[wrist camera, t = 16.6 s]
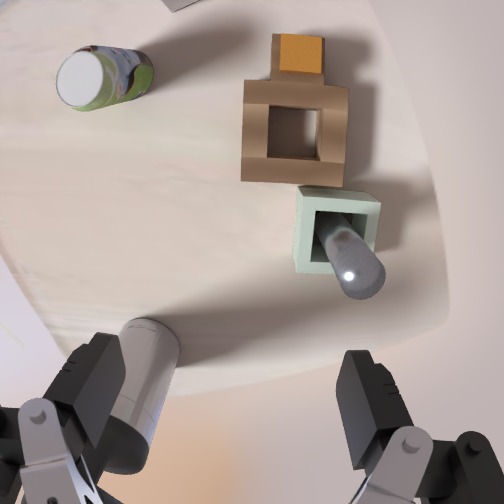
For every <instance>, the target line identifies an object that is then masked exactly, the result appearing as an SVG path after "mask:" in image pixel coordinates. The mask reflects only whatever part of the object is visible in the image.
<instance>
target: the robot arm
mask: <svg viewBox="0 0 504 504" xmlns="http://www.w3.org/2000/svg"><path fill="white" fill-rule="evenodd" d="M179 355H180V345H179V342H178V340H177V338H176V337H175V335H174V334H173V333H172V332H171V331H170V330H169V329H168V328H167V327H165V326H164V325H162V324H160V323H159V322H156V321H153V320H150V319H134V320H132V321H129V322H128V323H127V324H125V326H124V327H123V329H122V330H121V332H120V333H119V335H118V336H117V335H113V334H107V333H100V332H97V333H96V334H95V335H94V337H93V338H92V339H91V341H90V342H89V344H83V345H81V346H80V347H78V348H77V349H76V350H74V351H73V352H72V354H71V355H70V357H69V358H68V360H67V362H66V363H65V364H64V366H63V367H62V370H60V371H59V373H58V374H57V376H56V377H55V379H54V381H53V382H52V383H51V385H50V387H49V388H48V390H47V391H46V393H45V394H44V396H43V397H42V398H35V399H31V400H29V401H27V402H26V403H24V404H23V405H22V406H21V408H5V407H1V405H0V504H15V502H16V499H17V496H18V493H19V491H20V488H21V486H22V485H23V489H24V495H23V498H22V501H21V504H123V503H121V502H120V501H118V500H117V499H115V498H114V497H113V496H111V495H109V494H108V493H107V492H105V491H104V490H102V489H101V488H99V487H98V486H97V483H98V481H99V479H100V477H101V475H102V473H103V471H106V472H110V473H115V474H122V475H129V474H130V475H131V474H135V473H138V472H140V471H141V470H142V469H143V467H144V465H145V463H146V460H147V456H148V453H149V449H150V446H151V442H152V439H153V436H154V433H155V429H156V426H157V422H158V419H159V416H160V413H161V410H162V407H163V404H164V401H165V397H166V394H167V391H168V388H169V385H170V382H171V379H172V376H173V373H174V370H175V367H176V364H177V361H178V358H179ZM336 397H337V401H338V406H339V409H340V414H341V418H342V422H343V426H344V430H345V435H346V439H347V443H348V448H349V452H350V456H351V461H352V465H353V469H354V470H359V469H365V473H366V477H365V478H364V480H363V481H362V483H361V484H360V486H359V488H358V489H357V491H356V493H355V494H354V496H353V497H352V499H351V500H350V502H349V503H348V504H416V503H415V502H413V499H414V497H417V498H420V499H421V503H422V504H504V474H503V472H502V469H501V467H500V465H499V462H498V460H497V458H496V456H495V453H494V451H493V449H492V447H491V445H490V442H489V441H488V439H487V438H486V437H485V436H484V435H482V434H481V433H478V432H475V431H468V432H464V433H463V434H461V435H460V436H459V437H458V439H457V440H456V441H440V440H432V438H431V437H430V435H429V434H428V433H427V432H426V431H424V430H423V429H421V428H418V427H415V426H414V424H413V422H412V420H411V417H410V415H409V413H408V410H407V408H406V406H405V403H404V401H403V399H402V397H401V395H400V394H399V390H398V388H397V386H396V385H395V381H394V379H393V377H392V375H391V373H390V372H389V371H388V370H387V369H386V368H385V367H384V366H383V365H382V364H381V363H379V364H374V361H373V359H372V357H371V354H370V352H369V351H368V350H348V351H346V353H345V355H344V359H343V362H342V366H341V369H340V373H339V376H338V379H337V383H336Z"/></svg>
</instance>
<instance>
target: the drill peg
mask: <svg viewBox="0 0 504 504" xmlns="http://www.w3.org/2000/svg"><path fill="white" fill-rule="evenodd" d="M314 229H315V231H316V234H317V236H318V238H319V240H320V242H321V244H322V246H323V248H324V250H325V252H326V255H327V257H328V259H329V261H330V263H331V265H332V267H333V270H334V272H335V274H336V276H337V278H338V281H339V283H340V285H341V287H342V289H343V291H344V293H345V294H346V295H347V296H349V297H351V298H353V299H358V300H361V299H366V298H369V297H371V296H373V295H375V294H376V293H377V292H378V291H379V290H380V289H381V287H382V286H383V284H384V281H385V269H384V266H383V265H382V263H381V262H380V261H379V259H378V258H377V257H376V256H375V254H374V253H373V252H372V251H371V249H370V248H369V247H368V246H367V244H366V243H365V242H364V241H363V240H362V238H361V237H360V236H359V235H358V233H357V232H356V231H355V230H354V229H353V227H352V226H351V225H350V224H349V223H348V222H347V220H346V219H345V218H344V217H343V216H342V214H341V213H340V212H332V211H320V212H319V213H318V214H317V215H316V217H315V220H314Z"/></svg>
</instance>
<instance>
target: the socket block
mask: <svg viewBox="0 0 504 504" xmlns="http://www.w3.org/2000/svg"><path fill="white" fill-rule="evenodd" d="M280 37H281V34H272V44H271V72H270V81H269V80H244V97H243V125H242V157H241V181H249V182H272V183H290V184H306V185H320V186H333V187H342V186H343V175H344V163H345V151H346V137H347V121H348V100H349V88H344V87H337V86H329V85H324V55H325V38H322V55H321V74H320V75H319V76H312V75H302V74H290V73H279V61H280ZM269 107H272V108H288V109H302V110H313V111H317V118H316V137H315V153H314V157H301V156H286V155H267V140H268V116H269Z"/></svg>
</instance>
